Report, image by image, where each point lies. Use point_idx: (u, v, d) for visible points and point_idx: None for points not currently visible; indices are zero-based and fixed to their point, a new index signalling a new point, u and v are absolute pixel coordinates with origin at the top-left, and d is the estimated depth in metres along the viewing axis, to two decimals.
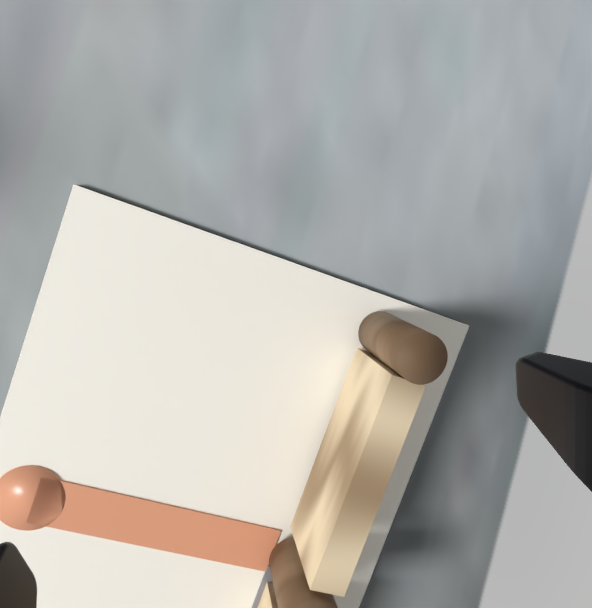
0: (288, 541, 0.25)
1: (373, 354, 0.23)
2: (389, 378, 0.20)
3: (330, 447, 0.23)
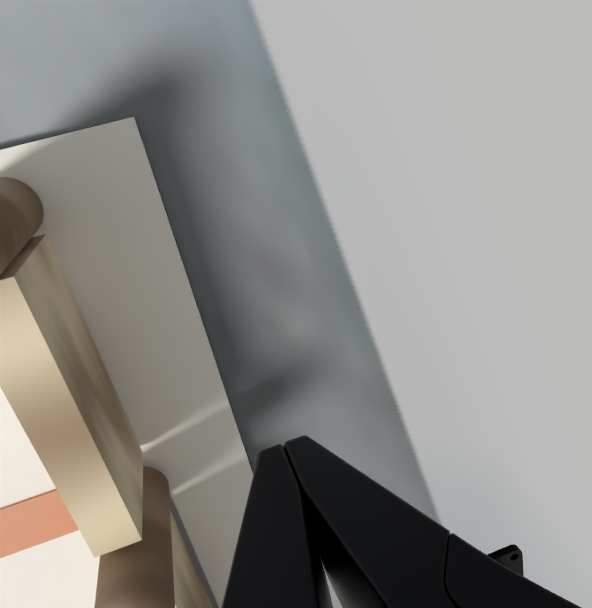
0: None
1: None
2: None
3: None
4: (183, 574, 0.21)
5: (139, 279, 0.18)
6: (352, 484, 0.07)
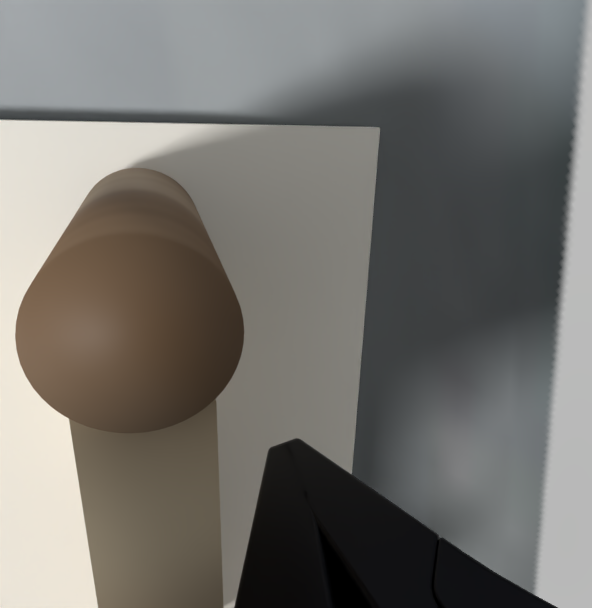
0: None
1: None
2: (72, 430, 0.05)
3: None
4: None
5: (293, 373, 0.11)
6: (343, 487, 0.07)
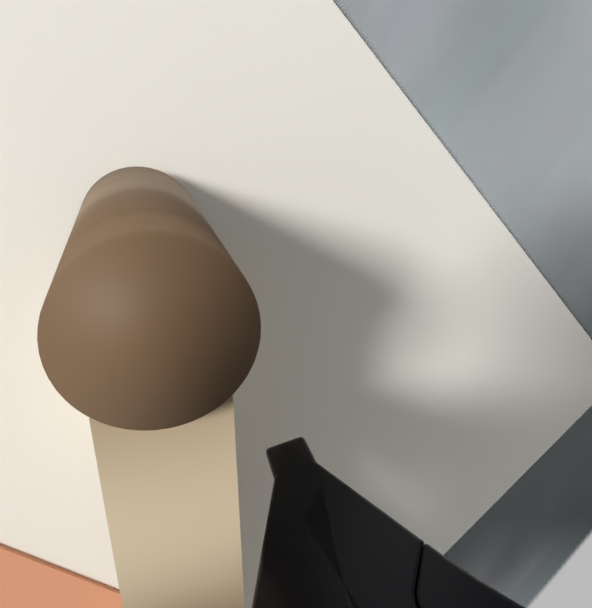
0: None
1: None
2: (92, 429, 0.05)
3: None
4: None
5: (466, 480, 0.15)
6: (330, 492, 0.07)
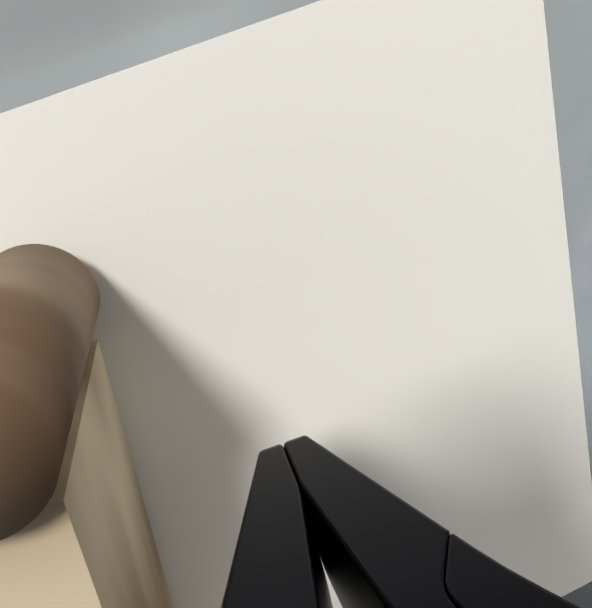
0: None
1: None
2: None
3: None
4: None
5: None
6: (352, 484, 0.07)
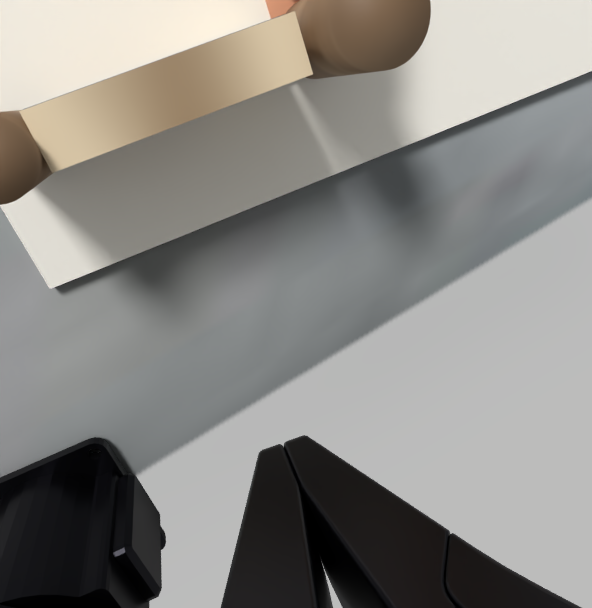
0: (293, 5, 0.16)
1: None
2: None
3: None
4: None
5: (537, 47, 0.19)
6: (352, 484, 0.07)
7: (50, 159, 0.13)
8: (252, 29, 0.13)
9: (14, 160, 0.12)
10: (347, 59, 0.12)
